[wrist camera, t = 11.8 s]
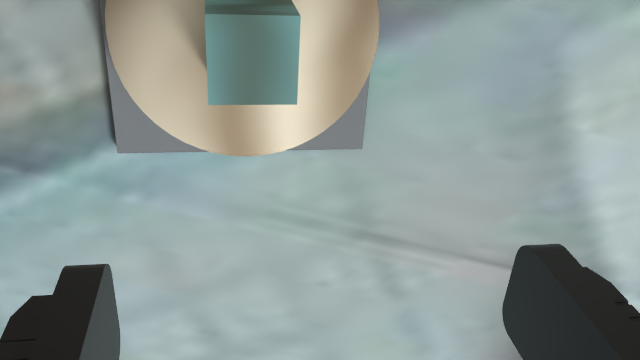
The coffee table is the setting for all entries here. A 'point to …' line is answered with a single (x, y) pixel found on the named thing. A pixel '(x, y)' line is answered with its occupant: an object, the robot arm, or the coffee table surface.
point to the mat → (147, 137)
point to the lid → (243, 67)
